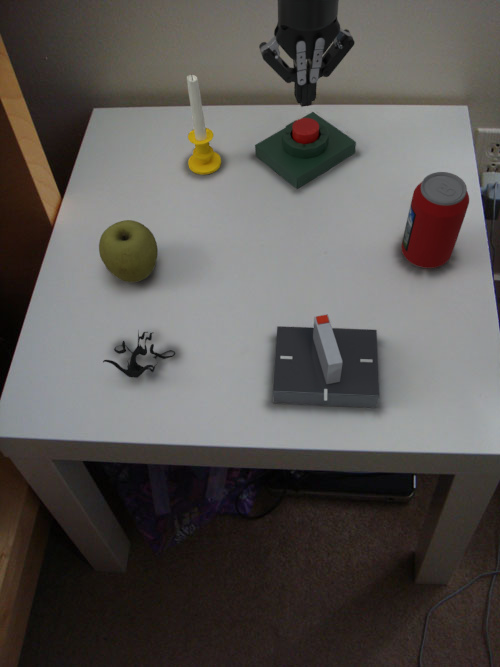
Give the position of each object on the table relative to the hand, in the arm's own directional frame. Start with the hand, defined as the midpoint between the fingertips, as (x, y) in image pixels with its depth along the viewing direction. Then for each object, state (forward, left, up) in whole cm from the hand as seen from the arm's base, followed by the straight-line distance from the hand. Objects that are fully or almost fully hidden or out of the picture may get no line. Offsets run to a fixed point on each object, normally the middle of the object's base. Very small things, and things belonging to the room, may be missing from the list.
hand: (305, 102), depth 86 cm
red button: (0, 0, -6) cm, 6 cm away
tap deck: (+24, +31, -10) cm, 40 cm away
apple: (+33, +2, -10) cm, 34 cm away
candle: (+13, -9, -10) cm, 18 cm away
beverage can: (+1, +26, -10) cm, 28 cm away
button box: (0, 0, -10) cm, 10 cm away
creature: (+40, +15, -10) cm, 44 cm away
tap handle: (+24, +31, -6) cm, 40 cm away
